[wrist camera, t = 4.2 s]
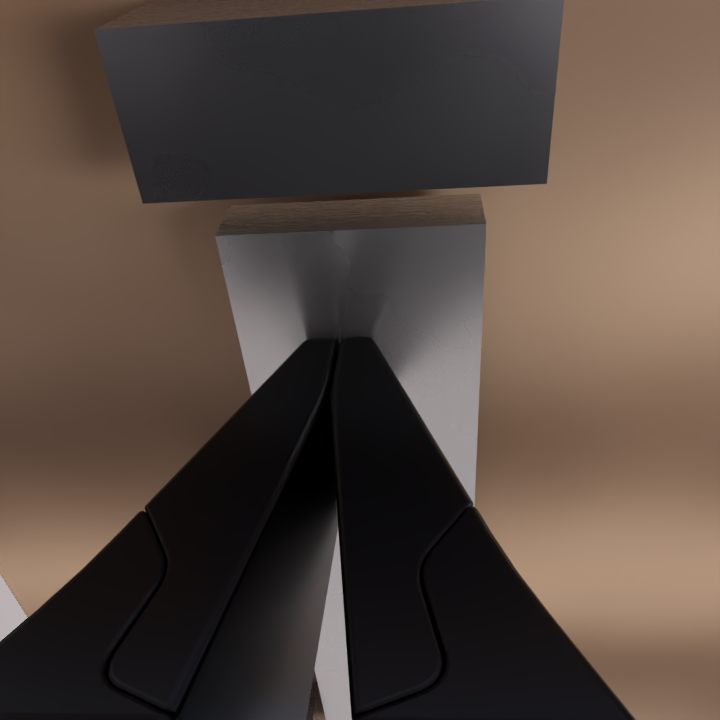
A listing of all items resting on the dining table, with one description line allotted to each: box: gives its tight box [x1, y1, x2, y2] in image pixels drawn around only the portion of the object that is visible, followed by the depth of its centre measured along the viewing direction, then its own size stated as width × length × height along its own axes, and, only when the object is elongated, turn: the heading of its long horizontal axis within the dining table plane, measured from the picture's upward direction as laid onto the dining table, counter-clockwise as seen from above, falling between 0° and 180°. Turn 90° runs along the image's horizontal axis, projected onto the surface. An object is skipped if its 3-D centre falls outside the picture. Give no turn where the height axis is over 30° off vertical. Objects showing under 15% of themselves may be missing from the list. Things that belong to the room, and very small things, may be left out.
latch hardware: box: [94, 0, 564, 720], centre depth 11 cm, size 16×6×2 cm, turn 4°
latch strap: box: [215, 194, 486, 720], centre depth 12 cm, size 13×3×1 cm, turn 4°
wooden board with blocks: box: [0, 0, 720, 720], centre depth 12 cm, size 22×16×3 cm
